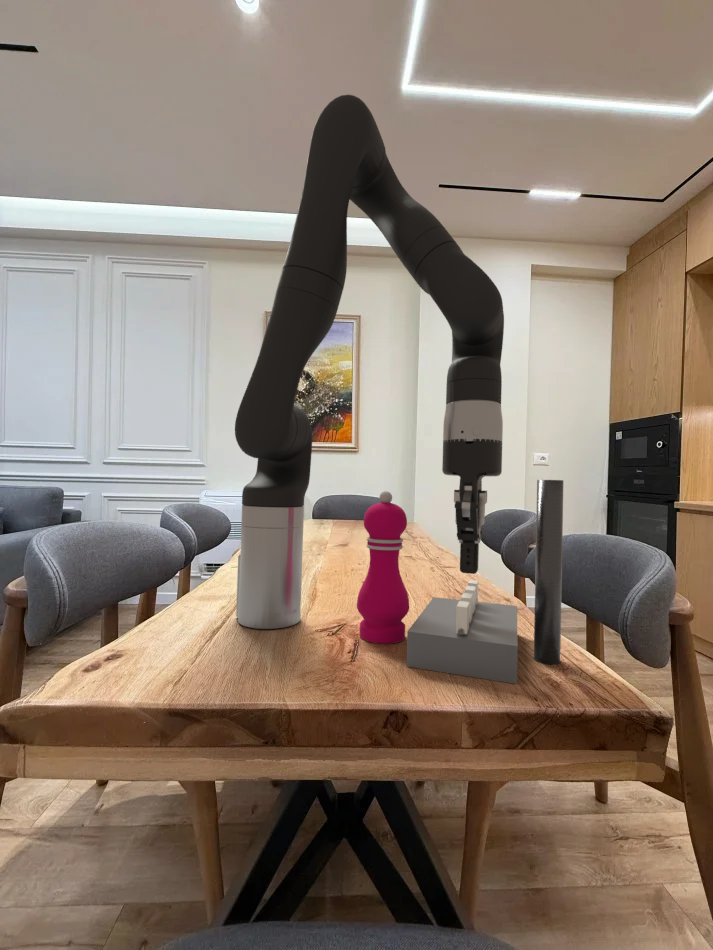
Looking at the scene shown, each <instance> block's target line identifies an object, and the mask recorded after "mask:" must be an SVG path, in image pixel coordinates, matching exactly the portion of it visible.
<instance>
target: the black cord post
mask: <svg viewBox="0 0 713 950" xmlns="http://www.w3.org/2000/svg"><path fill="white" fill-rule="evenodd" d="M535 520H536V521H535V522H536V524H535V526H536V527H535V528H536V529H535V567H534V568H535V571H534V572H535V577H534V579H535V580H534V582H535V583H534V619H533V620H534V629H533V632H534V633H533V659H534V660H535V661H537V662H538V663H539V662H540V663H542V664H546V665H558V664H560V663H561V646H562V645H561V641H562V640H561V638H562V637H561V636H562V635H561V634H562V632H561V631H562V591H563V590H562V585H563V584H562V583H563V582H562V581H563V529H564V528H563V527H564V526H563V525H564V521H563V520H564V480H562V479H561V480H560V479H537V481H536V519H535Z"/></svg>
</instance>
